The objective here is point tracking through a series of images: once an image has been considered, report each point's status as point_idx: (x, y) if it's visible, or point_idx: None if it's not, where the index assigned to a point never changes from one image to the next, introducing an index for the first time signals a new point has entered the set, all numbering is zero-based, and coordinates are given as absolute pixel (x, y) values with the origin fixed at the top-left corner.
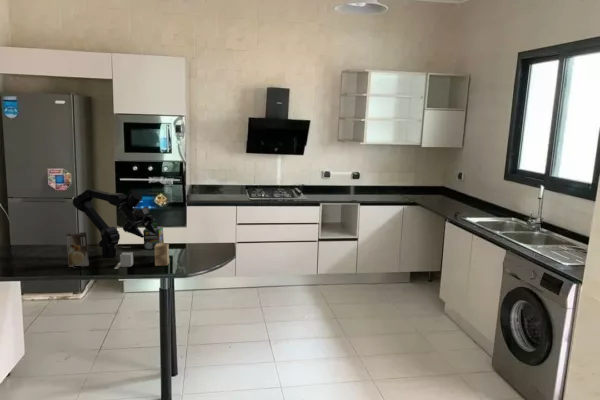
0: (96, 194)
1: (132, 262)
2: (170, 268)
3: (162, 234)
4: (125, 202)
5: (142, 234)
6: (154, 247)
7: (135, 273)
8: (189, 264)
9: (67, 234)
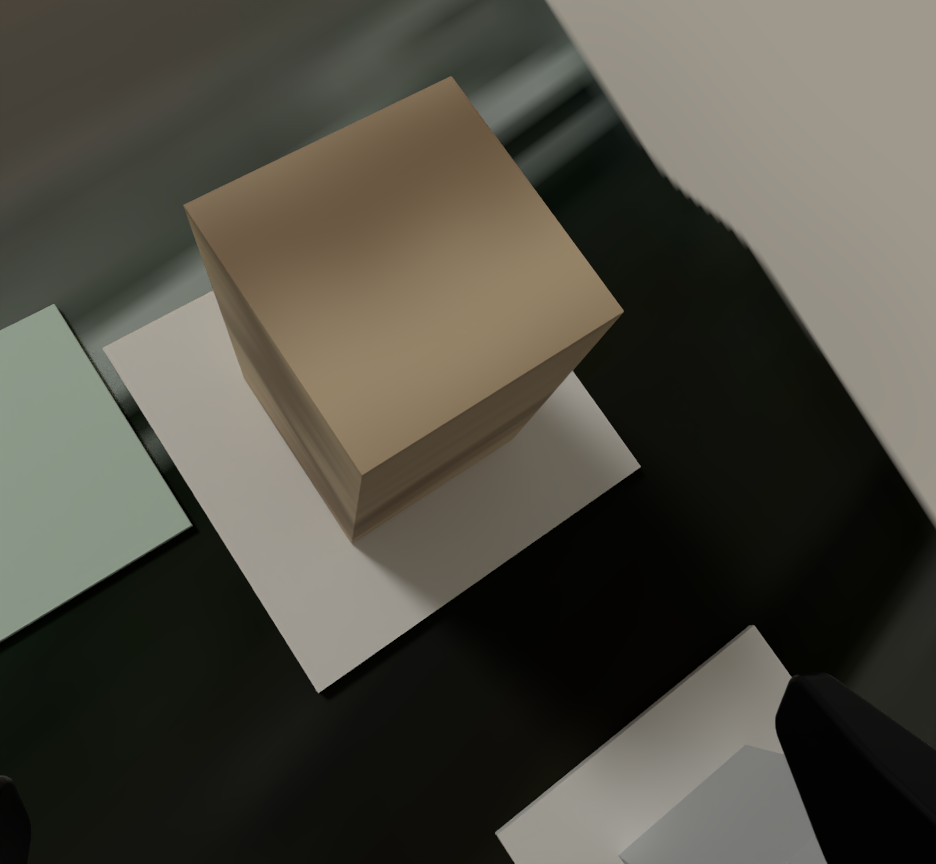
0: None
1: (673, 830)
2: None
3: None
4: None
5: (872, 739)
6: (612, 323)
7: (876, 454)
8: (175, 76)
9: None
